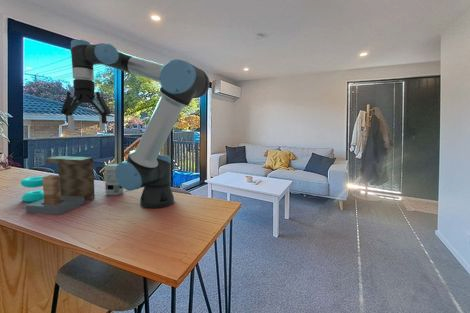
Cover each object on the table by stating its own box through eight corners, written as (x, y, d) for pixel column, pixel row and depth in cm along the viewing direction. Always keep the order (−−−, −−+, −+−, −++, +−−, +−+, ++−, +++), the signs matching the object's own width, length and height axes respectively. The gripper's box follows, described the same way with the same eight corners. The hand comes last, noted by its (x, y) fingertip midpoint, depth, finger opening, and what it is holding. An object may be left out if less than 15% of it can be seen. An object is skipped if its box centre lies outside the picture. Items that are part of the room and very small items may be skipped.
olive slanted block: (94, 198, 114) (93, 157, 112) (82, 204, 106) (79, 160, 103) (63, 196, 116) (60, 155, 113) (48, 202, 107) (45, 158, 105)
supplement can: (102, 193, 122) (101, 165, 120) (116, 190, 130) (116, 163, 128) (112, 196, 119) (111, 166, 117) (126, 192, 126) (126, 164, 124)
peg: (53, 211, 97) (51, 177, 95) (44, 210, 97) (42, 177, 96) (61, 208, 101) (59, 175, 99) (52, 207, 101) (50, 175, 99)
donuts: (52, 175, 115) (42, 180, 106) (54, 195, 116) (44, 202, 107) (27, 176, 112) (15, 181, 103) (29, 196, 114) (17, 203, 104)
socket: (84, 203, 108) (84, 196, 107) (59, 214, 94) (58, 207, 93) (55, 201, 109) (54, 195, 108) (26, 212, 95) (25, 205, 94)
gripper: (117, 82, 104) (120, 131, 106) (61, 81, 104) (65, 130, 107) (108, 78, 96) (110, 131, 99) (47, 78, 97) (52, 130, 100)
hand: (87, 131), depth 103 cm, fingers open, 13 cm apart
